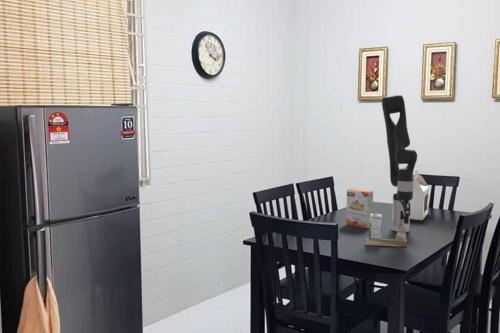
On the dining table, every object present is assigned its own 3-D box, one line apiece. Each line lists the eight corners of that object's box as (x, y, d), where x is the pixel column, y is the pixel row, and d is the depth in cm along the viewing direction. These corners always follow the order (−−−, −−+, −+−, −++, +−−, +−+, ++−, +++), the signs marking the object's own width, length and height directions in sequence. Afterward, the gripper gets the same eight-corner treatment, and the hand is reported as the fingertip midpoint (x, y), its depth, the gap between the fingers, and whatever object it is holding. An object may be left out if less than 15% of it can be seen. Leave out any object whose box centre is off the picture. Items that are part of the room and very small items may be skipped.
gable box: (406, 211, 329) (408, 169, 326) (427, 213, 323) (429, 170, 320) (400, 218, 309) (401, 173, 306) (422, 220, 303) (424, 174, 300)
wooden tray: (363, 236, 264) (363, 221, 263) (402, 238, 261) (403, 223, 260) (366, 245, 248) (366, 229, 247) (408, 246, 245) (408, 230, 244)
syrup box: (369, 241, 256) (370, 213, 254) (381, 242, 254) (382, 213, 252) (368, 244, 250) (369, 215, 249) (380, 245, 249) (381, 216, 247)
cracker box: (345, 224, 291) (346, 189, 288) (351, 223, 295) (352, 188, 293) (366, 229, 281) (367, 192, 279) (372, 227, 285) (373, 190, 283)
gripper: (394, 187, 257) (393, 218, 259) (400, 192, 243) (399, 225, 245) (409, 187, 257) (408, 218, 259) (416, 192, 243) (415, 225, 245)
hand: (404, 221), depth 252 cm, fingers open, 8 cm apart
